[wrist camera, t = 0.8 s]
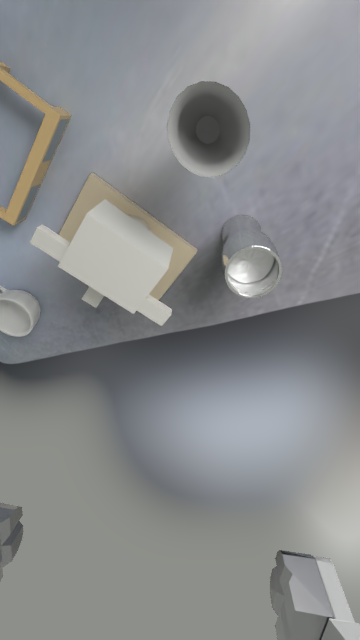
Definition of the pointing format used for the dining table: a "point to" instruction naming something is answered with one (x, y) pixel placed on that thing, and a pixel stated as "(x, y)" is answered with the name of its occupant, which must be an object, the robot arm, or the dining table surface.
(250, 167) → the dining table surface
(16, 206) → the tan open angular frame
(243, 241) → the beer glass
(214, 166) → the chalice
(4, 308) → the teacup
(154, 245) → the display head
